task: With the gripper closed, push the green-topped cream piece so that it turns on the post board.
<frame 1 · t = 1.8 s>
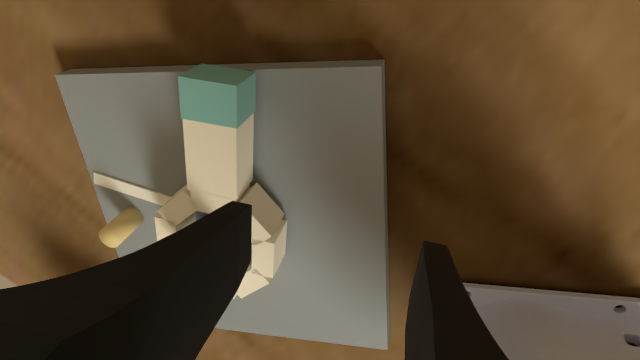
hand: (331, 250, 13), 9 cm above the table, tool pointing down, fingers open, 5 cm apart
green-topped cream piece: (221, 191, 22), point 2 cm above the table, hinge at -100.0°
post board: (241, 210, 25), on the table
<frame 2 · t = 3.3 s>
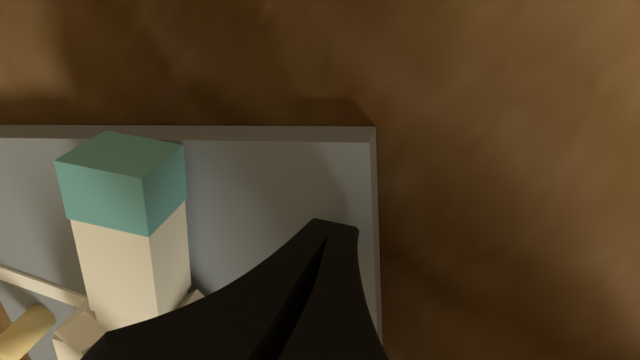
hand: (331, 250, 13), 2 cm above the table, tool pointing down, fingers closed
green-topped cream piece: (144, 305, 15), point 2 cm above the table, hinge at -100.0°
post board: (185, 309, 19), on the table
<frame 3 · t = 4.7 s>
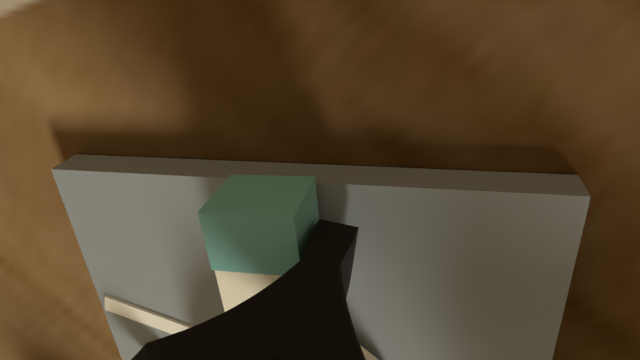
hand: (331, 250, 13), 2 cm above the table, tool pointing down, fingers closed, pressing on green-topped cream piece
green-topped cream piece: (285, 349, 14), point 2 cm above the table, hinge at -88.4°, touching gripper
post board: (312, 348, 18), on the table
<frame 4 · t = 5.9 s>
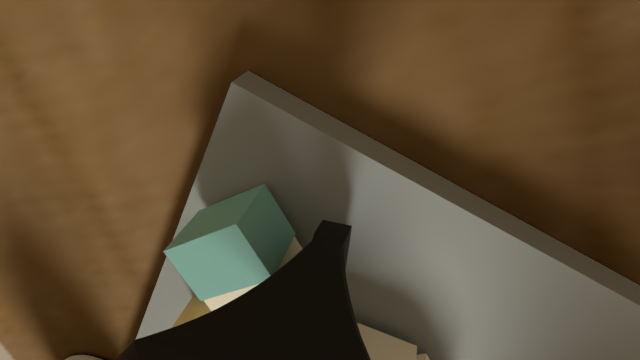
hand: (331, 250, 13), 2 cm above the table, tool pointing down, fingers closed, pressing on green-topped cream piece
post board: (362, 355, 17), on the table
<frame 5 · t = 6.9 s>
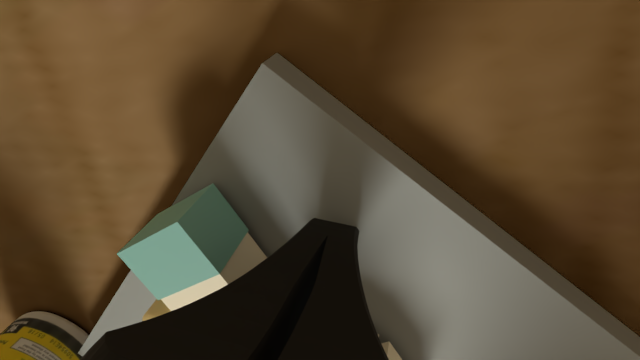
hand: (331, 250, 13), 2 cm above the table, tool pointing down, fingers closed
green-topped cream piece: (278, 353, 15), point 3 cm above the table, hinge at -21.0°
supplement bottle: (65, 342, 22), on the table
post board: (337, 349, 17), on the table
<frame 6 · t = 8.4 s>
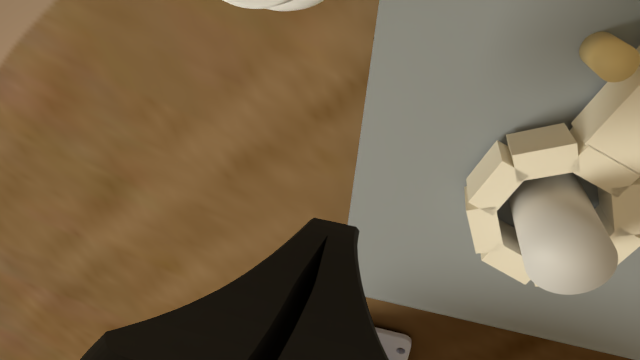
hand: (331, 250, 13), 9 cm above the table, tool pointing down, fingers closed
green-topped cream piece: (598, 157, 17), point 2 cm above the table, hinge at -20.9°
post board: (538, 178, 20), on the table
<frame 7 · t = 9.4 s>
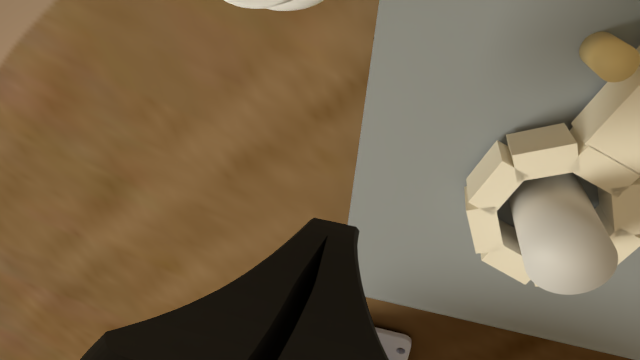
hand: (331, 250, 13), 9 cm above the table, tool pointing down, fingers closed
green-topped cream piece: (598, 157, 17), point 2 cm above the table, hinge at -20.9°
post board: (538, 178, 20), on the table
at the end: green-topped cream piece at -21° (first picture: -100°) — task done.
